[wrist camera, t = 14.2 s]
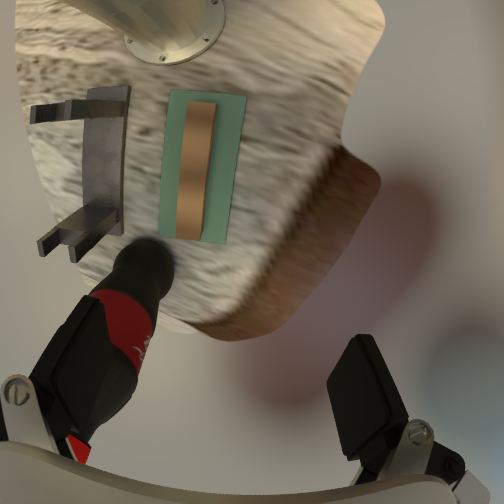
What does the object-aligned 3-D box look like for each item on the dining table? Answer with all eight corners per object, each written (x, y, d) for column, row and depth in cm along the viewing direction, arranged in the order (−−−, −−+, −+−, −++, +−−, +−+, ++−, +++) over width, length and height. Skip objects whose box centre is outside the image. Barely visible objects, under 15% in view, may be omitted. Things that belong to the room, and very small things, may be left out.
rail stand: (91, 89, 26) (31, 85, 15) (131, 86, 27) (78, 76, 16) (88, 228, 35) (41, 272, 24) (123, 233, 36) (82, 281, 25)
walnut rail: (192, 103, 28) (187, 101, 25) (218, 105, 28) (215, 103, 26) (180, 228, 35) (175, 237, 32) (203, 231, 35) (199, 240, 33)
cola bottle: (125, 281, 39) (40, 458, 13) (121, 231, 36) (-8, 413, 9) (177, 289, 40) (123, 492, 13) (178, 238, 36) (90, 463, 10)
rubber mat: (171, 90, 28) (170, 89, 27) (246, 96, 28) (246, 96, 28) (159, 234, 36) (158, 236, 36) (225, 242, 37) (224, 244, 36)
